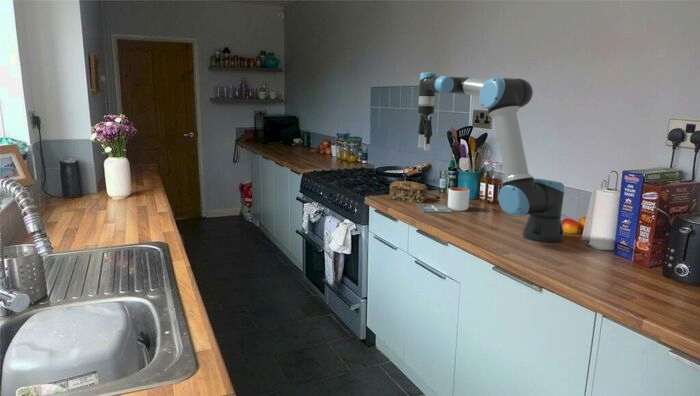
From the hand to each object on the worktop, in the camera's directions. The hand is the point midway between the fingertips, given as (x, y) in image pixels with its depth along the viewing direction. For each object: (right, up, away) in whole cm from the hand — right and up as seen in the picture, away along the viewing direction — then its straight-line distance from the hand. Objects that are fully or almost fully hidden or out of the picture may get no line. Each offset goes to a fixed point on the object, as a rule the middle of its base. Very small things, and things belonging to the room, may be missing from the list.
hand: (424, 149), depth 232 cm
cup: (+17, -30, 0) cm, 34 cm away
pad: (+5, -30, -1) cm, 30 cm away
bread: (-5, -25, +19) cm, 33 cm away
